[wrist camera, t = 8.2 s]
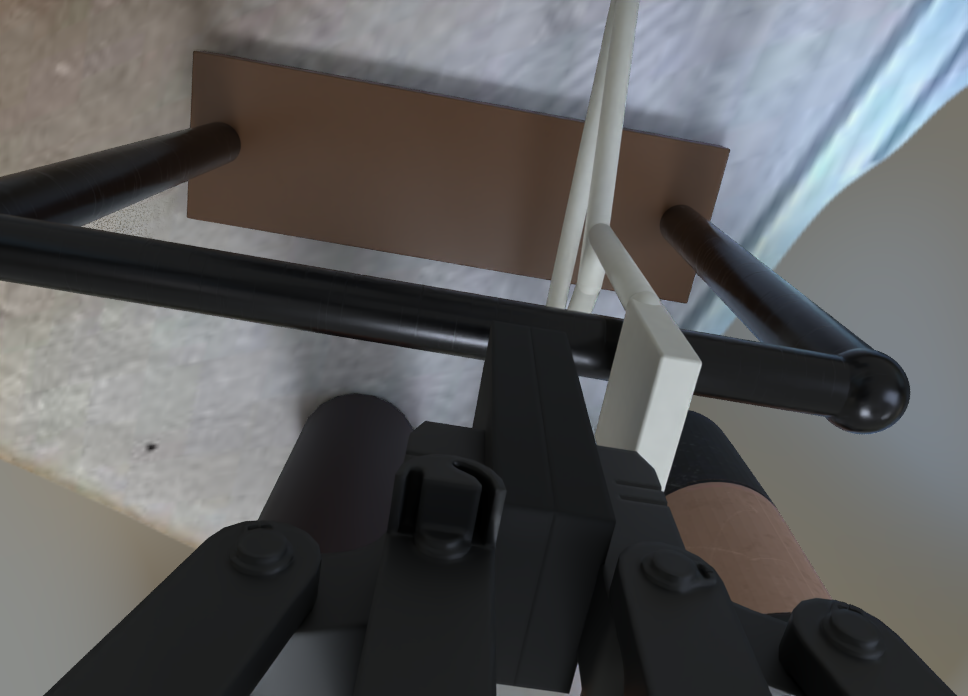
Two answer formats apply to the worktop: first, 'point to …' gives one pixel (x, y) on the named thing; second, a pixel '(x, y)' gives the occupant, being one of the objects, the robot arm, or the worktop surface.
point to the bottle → (342, 473)
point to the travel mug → (736, 524)
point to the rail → (427, 231)
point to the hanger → (622, 275)
